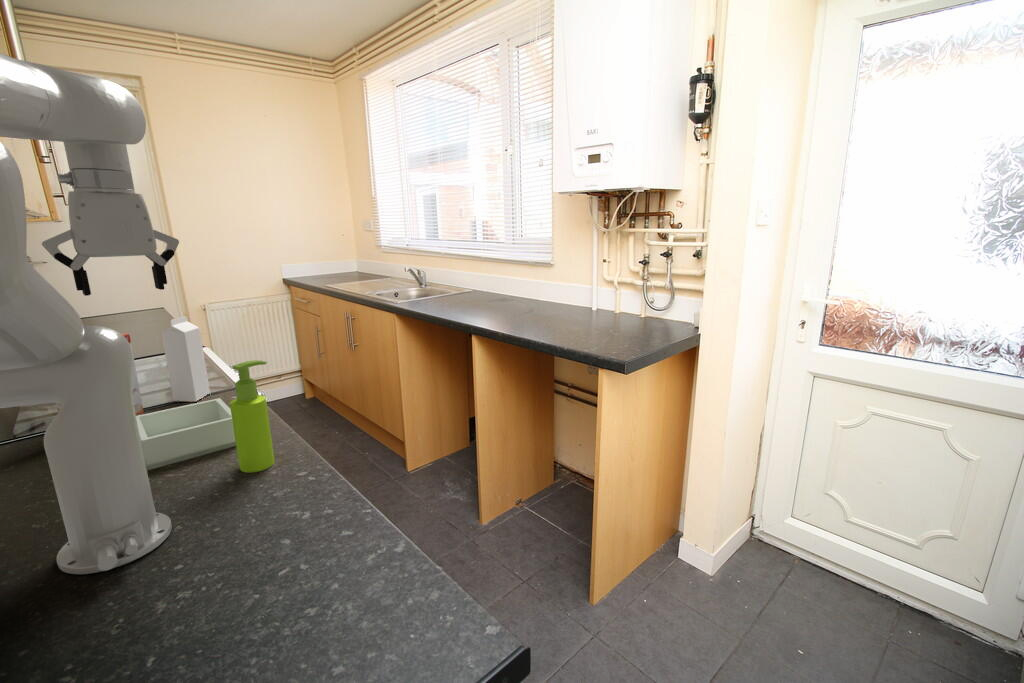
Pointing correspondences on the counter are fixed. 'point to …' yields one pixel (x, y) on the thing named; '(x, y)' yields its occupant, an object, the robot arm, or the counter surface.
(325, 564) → the counter surface
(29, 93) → the robot arm
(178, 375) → the milk
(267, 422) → the soap dispenser
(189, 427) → the tub
